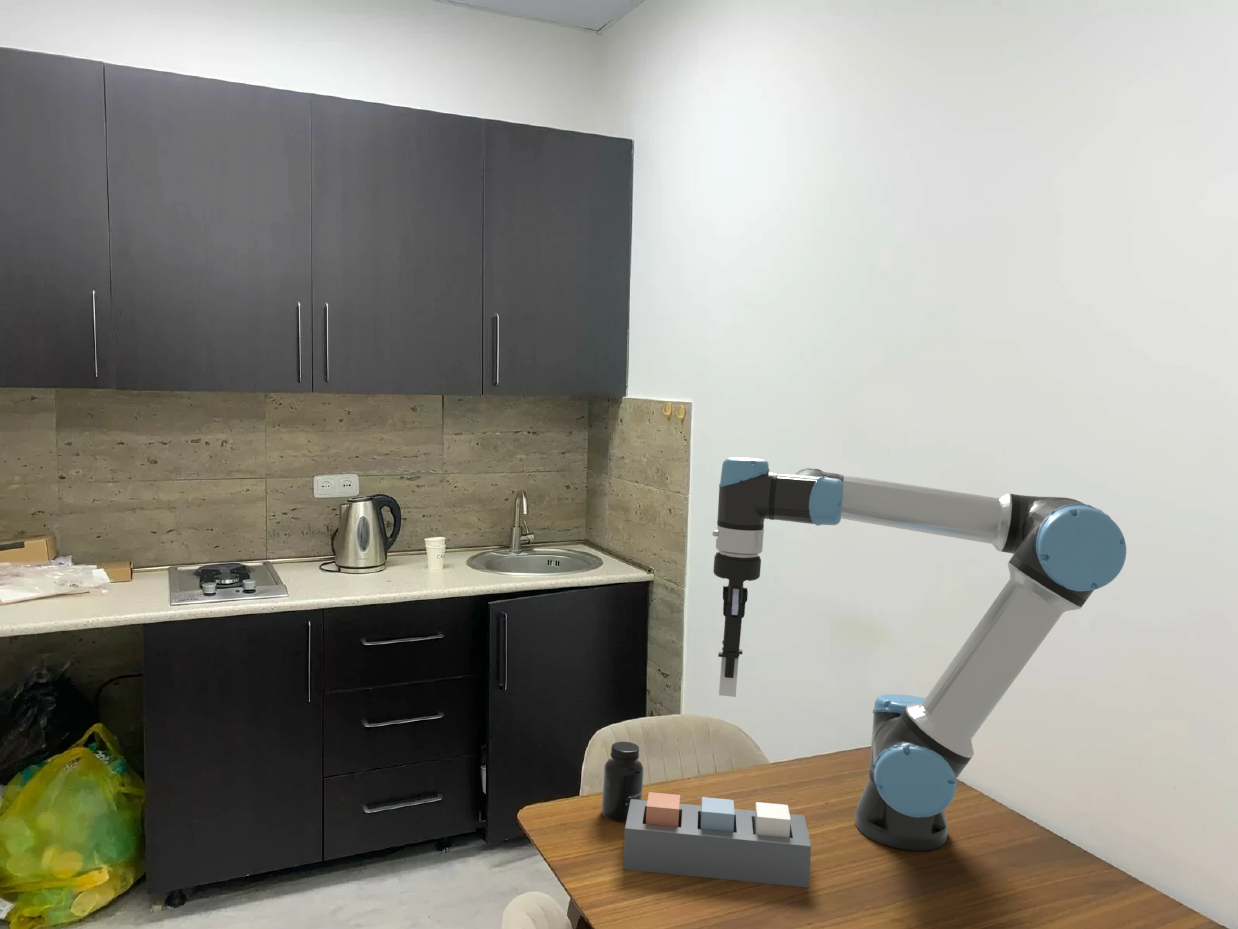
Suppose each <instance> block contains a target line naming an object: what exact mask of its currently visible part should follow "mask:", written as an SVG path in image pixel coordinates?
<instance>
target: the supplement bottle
mask: <svg viewBox="0 0 1238 929" xmlns="http://www.w3.org/2000/svg"><path fill="white" fill-rule="evenodd" d="M609 755H610V758H609V759H608V760H607V761H606V762H605V763H604V769H603V783H602V797H601V798H602V801H601V803H602V804H601V812H602V814H603V816H605V818H607V819H609V820H611V821H614V822H621V823H622V822H623V823H626V821H627V816H628V811H629V806H630V801H631V799H636V800H643V785H644V766H643V763H642V762H641V761H640V760H639V759H640V747H639V745H638V744H636V743H634V742H631V741H617V742H614V743H613V744H611V748H610V754H609Z"/></svg>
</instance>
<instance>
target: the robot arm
mask: <svg viewBox="0 0 1238 929" xmlns="http://www.w3.org/2000/svg"><path fill="white" fill-rule="evenodd" d="M721 466H722V467H721V472H720V474H721V475H720V482H719V484H718V487H719V488H718V505H717V506H718V507H717V522H716V524H717V527H716V529H717V530H713V531H712V536H713V537H716V540H715V548H716V549H717V550H718V551H716V552H715V553H714V559H713V560H714V561H713V571H712V572H713V574H714V576H716V577H718V578H721V579H727V581H728V583H727V585H724V584H723V586H722V600H723V604H722V615H723V616H724V625H723V627H724V630H723V631H724V632H723V640H722V641H721V642H722V646H723V647H722V649H721V650H722V651H719V652H718V656H717V657H718V658H721V663H720V674H719V675H720V677H719V690H718V696H723V697H724V696H725V697H732V698H733V697H734V698H736V697H737V696H736V694H737V685H738V684H737V682H738V671H739V669H738V668H739V660H740V659H739V658H740V655H743V649H740V644H741V633H742V621H743V618H744V617H745V612H746V603H747V601H748V595H749V594H748V587H745V586H744V582H745V581H746V582H747V581H748V582H751V581H757V580H758V579H760V576H761V564H762V557H761V556H760V554H761V553H762V552H763V548H764V546H763V544H764V530H765V528H764V526H765V524H764V523H765V520H771V521H776V520H777V521H782V522H791V523H792V522H793V523H799V524H800V523H802V524H808V525H809V524H811V525H815V526H818V527H819V526H836V525H838V524H839V523H840V522H841V519H843V520H848V521H853V522H861V523H866V524H872V525H877V526H884V527H889V528H894V529H895V528H896V529H900V530H901V529H902V530H909V531H913V532H918V533H919V532H920V533H923V534H924V533H927V534H932V535H939V536H942V537H948V538H955V539H960V540H967V541H973V542H979V543H986V544H991V545H992V546H994V548H995V550H997V552H1002V553H1008V554H1013V555H1012V556H1011V557H1010V560H1009V561H1008V562H1007V567H1008V572H1009V579H1008V581H1007V583H1006V584H1005V585H1004V587H1003V588H1002V589H1001V591H1000V592H999V594H998V595H997V596H996V598H995V600H994V601H993V602H992V604H991V605H990V606H989V608H988V610H986V612H985V614H984V615H983V616H982V618H981V619H980V621H979V622H978V624H977V625H976V626H975V628H974V629H973V631H972V632H971V633H970V635H969V636H968V638H967V639H966V641H964V643H963V645H962V646H961V648H960V649H959V650H958V652H957V654H956V655H955V656H954V657H953V659H952V660H951V662H950V663H949V665H947V668H946V669H945V671H943V673H942V674H941V676H940V677H939V679H938V680H937V682H936V683H935V685H934V686H933V687H932V689H931V690H930V691H929V693H928V694H927V695H926V697H921V696H915V695H909V694H908V695H907V694H899V693H898V694H897V693H892V694H891V693H890V694H889V693H888V694H887V693H885V694H882V695H879V696H878V697H876V699H875V700H874V701H875V702H874V706H873V710H872V714H873V716H872V717H873V718H872V733H871V743H870V744H871V745H870V747H871V748H870V758H869V760H870V761H869V773H868V779H867V780H868V781H867V782H866V785H865V787H864V789H863V791H862V794H861V796H860V798H859V800H858V803H857V805H856V808H855V818H854V822H855V825H856V828H857V829H858V830H859V831H860V832H861V833H862V834H864V836H866V837H868V839H869V838H870V839H871V840H873V841H875V842H877V843H880V844H881V845H885V846H888V847H892V848H895V849H899V850H900V849H901V850H907V851H916V852H917V851H931V850H934V849H938V848H940V847H942V846H943V845H944V844H946V842H947V839H948V838H947V837H948V829H949V828H948V821H947V818H946V813H945V812H946V811H945V810H946V809H948V807H949V806H950V805H951V804H952V802H953V800H954V798H955V795H956V790H957V786H958V784H957V779H958V777H959V776H960V775H961V773H962V772H963V771H964V769H965V768H966V766H967V765H968V764H969V763H970V761H971V759H972V758H973V756H974V755H975V750H974V746H973V743H972V740H973V738H974V736H975V735H976V733H978V731H979V729H980V728H981V727H982V726H983V725H984V722H985V721H986V720H987V719H988V717H989V716H990V715H991V713H992V711H994V709H995V707H997V705H998V703H999V702H1000V701H1001V699H1002V698H1003V696H1004V695H1005V694H1006V692H1007V691H1008V690H1009V688H1010V687H1011V686H1012V684H1013V683H1014V681H1015V680H1016V679H1017V677H1018V676H1019V674H1020V673H1021V672H1022V670H1023V669H1024V668H1025V666H1026V665H1027V663H1028V662H1029V660H1031V658H1032V657H1033V655H1034V654H1035V653H1036V652H1037V650H1038V648H1039V647H1040V645H1041V644H1042V643H1043V641H1044V640H1045V638H1046V637H1047V636H1049V635H1048V634H1049V633H1050V632H1051V630H1052V629H1053V628H1054V626H1055V625H1056V624H1057V622H1058V621H1059V620H1060V618H1061V617H1062V615H1063V614H1064V613H1066V612H1069V611H1075V610H1076V611H1077V610H1081V608H1082V607H1083V606H1084V604H1086V602H1087V600H1088V599H1089V598H1090V596H1091V595H1092V594H1093V593H1094V591H1095V590H1098V589H1101V588H1104V587H1106V585H1109V584H1110V583H1112V582H1113V581H1114V579H1115V578H1117V577H1118V575H1119V574H1120V573H1121V571H1122V569H1123V567H1124V565H1125V562H1126V558H1127V543H1126V538H1125V536H1124V534H1123V532H1122V529H1121V528H1120V527H1119V526H1118V524H1117V523H1116V522H1115V521H1114V520H1113V519H1112V518H1111V517H1110V516H1109V515H1108V514H1107V513H1105V512H1104V511H1103V510H1102V509H1098V508H1097V507H1094V506H1092V505H1091V504H1086V503H1084V502H1081V501H1079V500H1077V499H1074V498H1069V497H1063V496H1062V497H1060V496H1038V495H1037V496H1033V495H1022V494H1021V495H1020V494H1013V493H1009V492H1008V493H1007V492H1006V493H1005V494H1004V495H1002V496H1000V497H992V496H986V495H978V494H972V493H967V492H960V491H953V490H945V489H939V488H932V487H927V486H922V485H920V486H919V485H913V484H907V483H902V482H893V481H886V480H881V479H874V478H868V477H867V478H866V477H861V476H854V475H848V474H844V475H843V474H839V473H834V472H827V471H823V470H821V469H820V468H812V467H811V468H810V467H807V468H804V469H801V470H799V471H798V472H796V473H795V474H790V473H789V474H787V473H777V472H774V471H773V472H772V471H770V467H769V462H768V461H767V460H766V459H762V458H753V457H746V456H745V457H742V456H733V457H732V456H730V457H727V458H726V459H724V461H723V462H722V465H721Z"/></svg>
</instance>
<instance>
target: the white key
mask: <svg viewBox="0 0 1238 929" xmlns="http://www.w3.org/2000/svg"><path fill="white" fill-rule="evenodd" d="M754 809H755V810H754V811H755V823H754V834H755V835H766V836H776V837H786V838H789V835H790V821H791V820H790V814H791V813H790V810H789V809H790V808H789V805H788V804H782V803H781V804H780V803H769V802H760V801H759V802H758V801H757V802H756V801H755V808H754Z"/></svg>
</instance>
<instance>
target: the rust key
mask: <svg viewBox="0 0 1238 929" xmlns="http://www.w3.org/2000/svg"><path fill="white" fill-rule="evenodd" d="M680 800H681V794H674V793H673V794H672V793H663V792H651V791H649V792H648V796H647V810H646V824H651V825H662V826H672V827H678V823H679V805H680V804H681V802H680Z"/></svg>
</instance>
